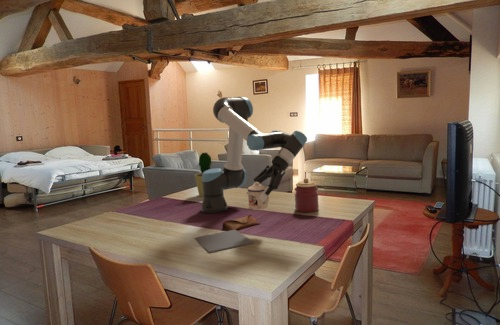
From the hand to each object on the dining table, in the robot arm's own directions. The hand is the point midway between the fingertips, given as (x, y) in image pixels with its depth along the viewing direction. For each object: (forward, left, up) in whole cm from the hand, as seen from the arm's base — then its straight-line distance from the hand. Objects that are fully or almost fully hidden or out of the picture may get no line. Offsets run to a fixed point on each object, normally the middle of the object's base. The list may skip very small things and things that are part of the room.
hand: (254, 197), depth 169 cm
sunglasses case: (-15, 0, -18) cm, 23 cm away
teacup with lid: (0, +3, -5) cm, 6 cm away
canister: (-21, +42, -17) cm, 50 cm away
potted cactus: (-90, +8, -17) cm, 92 cm away
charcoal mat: (0, -16, -17) cm, 24 cm away
